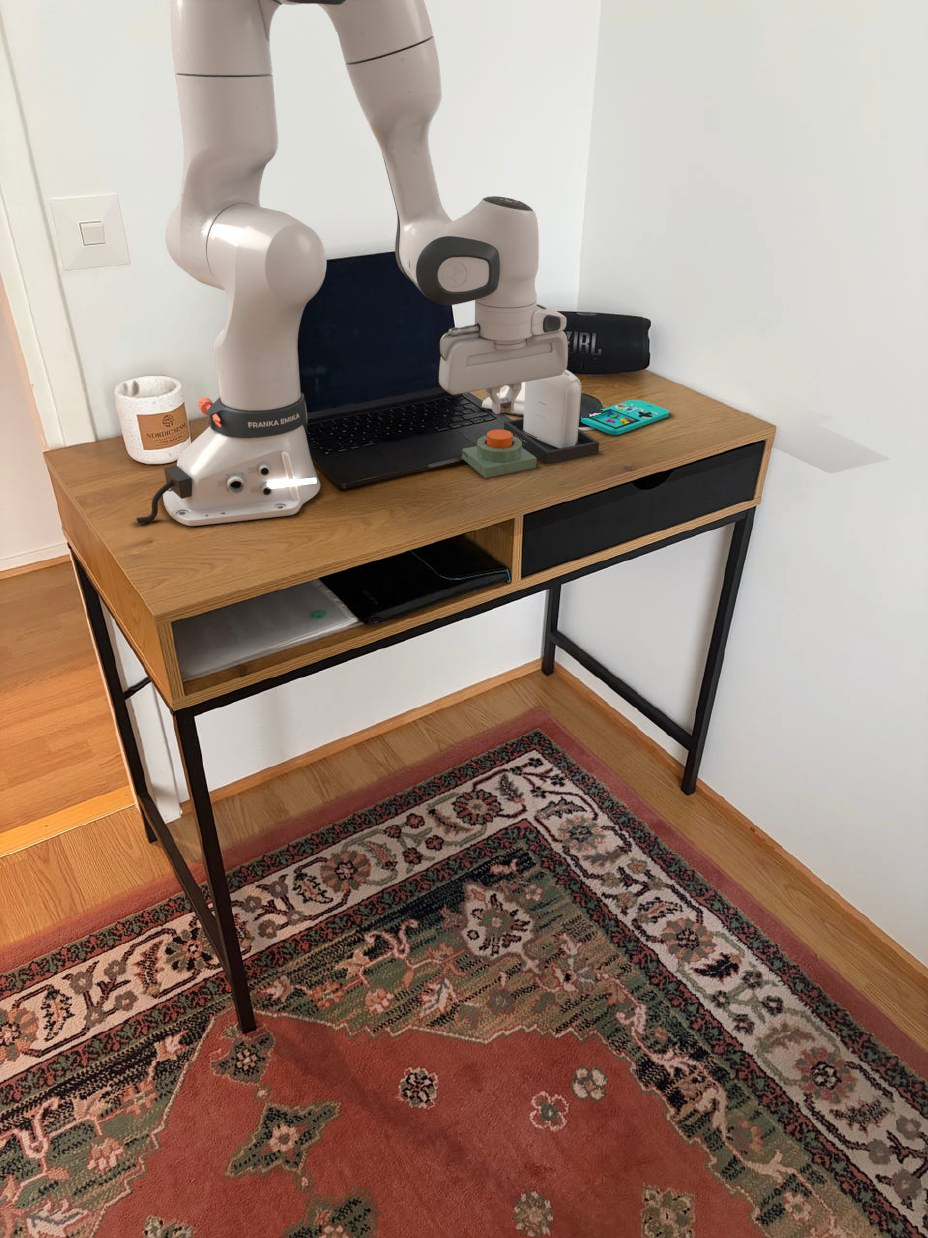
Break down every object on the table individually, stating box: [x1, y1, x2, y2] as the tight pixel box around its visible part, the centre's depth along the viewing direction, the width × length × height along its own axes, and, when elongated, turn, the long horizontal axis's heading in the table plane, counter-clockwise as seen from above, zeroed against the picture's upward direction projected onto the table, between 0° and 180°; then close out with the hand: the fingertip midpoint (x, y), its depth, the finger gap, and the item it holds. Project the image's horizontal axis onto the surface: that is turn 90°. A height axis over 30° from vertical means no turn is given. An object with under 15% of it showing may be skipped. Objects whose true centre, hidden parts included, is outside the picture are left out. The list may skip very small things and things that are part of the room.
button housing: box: [461, 434, 538, 479], centre depth 142 cm, size 9×8×4 cm
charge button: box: [486, 428, 513, 449], centre depth 141 cm, size 4×4×2 cm
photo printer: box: [523, 369, 582, 449], centre depth 146 cm, size 10×4×12 cm, turn 39°
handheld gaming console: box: [580, 399, 670, 436], centre depth 159 cm, size 8×1×15 cm
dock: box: [503, 417, 600, 465], centre depth 149 cm, size 10×14×2 cm
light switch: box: [481, 382, 525, 416], centre depth 163 cm, size 11×4×13 cm
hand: (502, 411), depth 138 cm, fingers closed
